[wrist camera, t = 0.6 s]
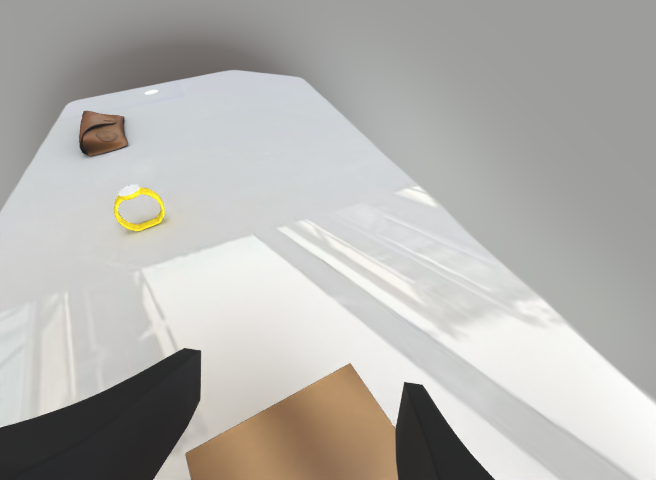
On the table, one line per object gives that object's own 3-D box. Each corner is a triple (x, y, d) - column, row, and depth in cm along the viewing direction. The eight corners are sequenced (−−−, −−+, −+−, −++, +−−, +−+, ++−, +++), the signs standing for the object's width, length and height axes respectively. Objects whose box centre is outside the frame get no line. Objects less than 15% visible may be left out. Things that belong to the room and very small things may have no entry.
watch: (168, 214, 55) (152, 177, 51) (171, 223, 53) (154, 186, 49) (125, 228, 53) (105, 191, 50) (126, 238, 51) (105, 201, 48)
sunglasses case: (130, 143, 75) (97, 119, 71) (106, 169, 76) (72, 147, 71) (124, 116, 88) (96, 94, 84) (104, 138, 89) (75, 117, 84)
